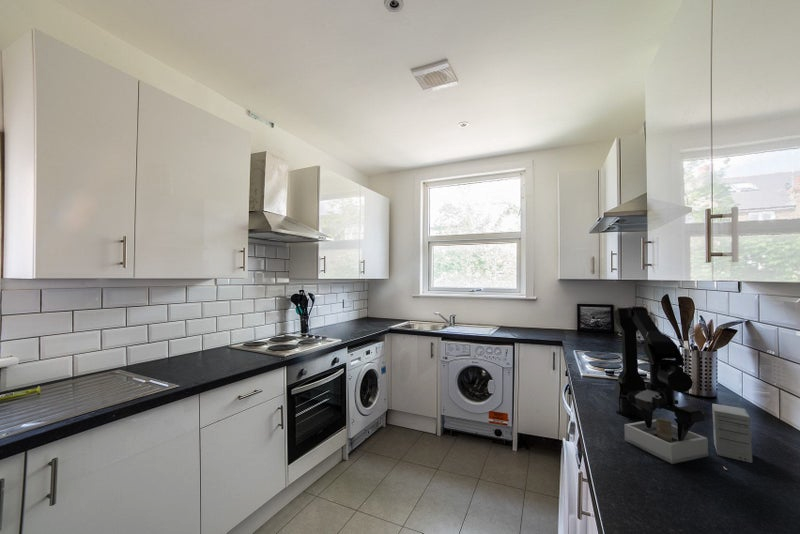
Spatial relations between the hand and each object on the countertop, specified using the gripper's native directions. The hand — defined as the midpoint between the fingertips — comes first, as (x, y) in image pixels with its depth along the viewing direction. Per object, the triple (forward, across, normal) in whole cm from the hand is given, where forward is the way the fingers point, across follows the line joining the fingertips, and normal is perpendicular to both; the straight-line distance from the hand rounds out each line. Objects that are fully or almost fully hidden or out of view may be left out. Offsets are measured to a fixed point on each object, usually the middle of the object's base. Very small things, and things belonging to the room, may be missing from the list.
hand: (664, 434), depth 100 cm
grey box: (+4, 0, 0) cm, 4 cm away
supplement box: (+4, +8, +15) cm, 18 cm away
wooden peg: (+3, 0, 0) cm, 3 cm away
